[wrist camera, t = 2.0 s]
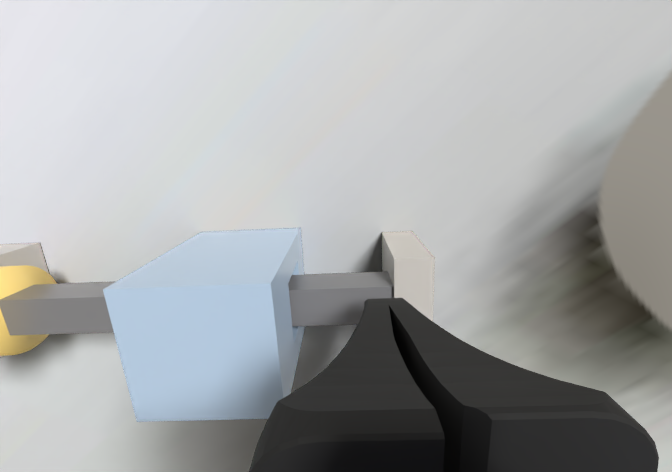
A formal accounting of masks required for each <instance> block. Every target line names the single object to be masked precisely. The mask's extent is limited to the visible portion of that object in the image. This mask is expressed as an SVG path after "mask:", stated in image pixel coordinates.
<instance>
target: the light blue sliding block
mask: <svg viewBox="0 0 672 472" xmlns="http://www.w3.org/2000/svg"><path fill="white" fill-rule="evenodd" d="M292 275H304V264H303V251H302V239H301V228H285V229H261V230H237V231H214V232H200V233H199V234H197V235H195V236H194V237H192V238H190V239H188V240H187V241H185V242H183V243H182V244H180V245H178V246H176V247H175V248H173V249H171V250H170V251H168V252H166V253H164V254H163V255H161V256H159V257H158V258H156V259H154V260H152V261H151V262H149V263H147V264H146V265H144V266H142V267H140V268H139V269H137V270H135V271H134V272H132V273H130V274H128V275H127V276H125V277H123V278H122V279H120V280H118V281H116V282H115V283H113V284H111V285H110V286H108V287H106V288H105V289H103V292H104V296H105V300H106V304H107V308H108V312H109V315H110V319H111V323H112V327H113V331H114V335H115V339H116V343H117V346H118V350H119V354H120V358H121V362H122V366H123V370H124V374H125V377H126V381H127V385H128V389H129V393H130V397H131V401H132V405H133V408H134V412H135V416H136V420H137V422H146V421H191V420H236V419H268V418H269V416H270V414H271V412H272V410H273V408H274V407H275V405H276V403H277V402H278V401H279V400H281V399H283V398H284V397H286V396H288V395H289V394H291V390H292V386H293V381H294V376H295V372H296V367H297V362H298V358H299V353H300V348H301V343H302V339H303V334H304V329H305V326H292V318H291V307H290V297H289V286H288V283H289V281H290V278H291V276H292Z"/></svg>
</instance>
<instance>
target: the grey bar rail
mask: <svg viewBox="0 0 672 472" xmlns="http://www.w3.org/2000/svg"><path fill="white" fill-rule="evenodd" d="M434 267H435V257H434V256H433V255H432V254H431V252H430V251H429V250H428V249H427V248H426V247H425V245H424V244H423V243H422V242H421V241H420V240H419V238H418V237H417V236H416V235H415V234H414V232H413V231H402V232H382V272H360V273H333V274H306V275H292V276H291V278H290V281H289V283H288V286H289V297H290V307H291V318H292V326H324V325H355V324H358V323H359V321H360V319H361V316H362V313H363V310H364V302H365V301H366V300H367V299H379V298H403V299H405V300H406V301H407V302H408V303H410V304H411V305H412V306H413V307H414V308H416V309H417V310H418V311H419V312H421V313H422V314H423V315H424V316H426V317H427V318H428V319H430V320H431V321H432V322H433V297H434ZM113 283H115V282H90V283H63V284H57V283H56V281H55V280H54V279H53V277H52V276H51V275H50V274H49V272H48V268H47V265H46V262H45V258H44V255H43V252H42V248H41V245H40V243H18V244H1V245H0V358H1V357H3V356H5V355H17V354H21V353H24V352H27V351H29V350H31V349H33V348H34V347H36V346H37V345H39V344H40V343H41V342H42V341H44V340H45V339H46V338H47V336H48V335H49V334H72V333H104V332H114V331H113V327H112V323H111V319H110V315H109V312H108V308H107V304H106V300H105V296H104V292H103V289H105V288H106V287H108V286H110V285H111V284H113Z"/></svg>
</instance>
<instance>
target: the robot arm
mask: <svg viewBox="0 0 672 472" xmlns="http://www.w3.org/2000/svg"><path fill="white" fill-rule="evenodd" d="M658 459H659V457H658V453H657V449H656V445H655V442H654V441H653V439H652V438H651V437H650V435H649V434H648V433H647V431H646V430H645V429H644V428H643V427H642V426H641V425H640V424H639V423H638V422H637V421H636V420H635V419H634V418H632V417H631V416H630V415H629V414H628V413H627V412H626V411H625V410H624V409H623V408H622V407H621V406H620V405H618V404H617V403H616V402H615V401H614V400H613V399H612V398H611V397H610V396H609V395H608V394H606V393H605V392H602V391H599V390H595V389H591V388H587V387H583V386H579V385H576V384H572V383H568V382H564V381H560V380H556V379H553V378H550V377H547V376H544V375H541V374H538V373H535V372H532V371H529V370H526V369H523V368H520V367H518V366H515V365H512V364H510V363H507V362H505V361H503V360H500V359H498V358H496V357H493V356H491V355H489V354H487V353H485V352H482V351H480V350H478V349H477V348H475V347H473V346H471V345H469V344H467V343H465V342H463V341H462V340H460V339H458V338H456V337H455V336H453V335H452V334H450V333H449V332H447V331H445V330H444V329H442V328H441V327H439V326H438V325H437V324H435V323H434V322H432V321H431V320H430V319H428V318H427V317H426V316H424V315H423V314H422V313H421V312H419V311H418V310H417V309H416V308H414V307H413V306H412V305H411V304H410V303H408V302H407V301H406V300H405V299H403V298H379V299H367V300H366V301H365V302H364V310H363V313H362V316H361V319H360V321H359V323H358V325H357V327H356V329H355V331H354V333H353V334H352V336H351V338H350V340H349V341H348V343H347V344H346V345H345V347H344V348H343V350H342V351H341V352H340V353H339V355H338V356H337V357H336V358H335V359H334V360H333V361H332V362H331V363H330V365H329V366H328V367H327V368H326V369H325V370H324V371H322V372H321V373H320V374H319V375H318V376H316V377H315V378H314V379H313V380H311V381H310V382H309V383H307V384H306V385H304V386H303V387H301V388H299V389H298V390H296V391H294V392H293V393H291V394H289V395H288V396H286V397H284V398H283V399H281V400H279V401H278V402H277V403H276V405H275V407H274V408H273V410H272V412H271V414H270V416H269V418H268V421H267V423H266V425H265V427H264V430H263V432H262V434H261V437H260V439H259V441H258V444H257V447H256V450H255V453H254V457H253V460H252V464H251V467H250V471H249V472H657V469H658Z"/></svg>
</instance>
